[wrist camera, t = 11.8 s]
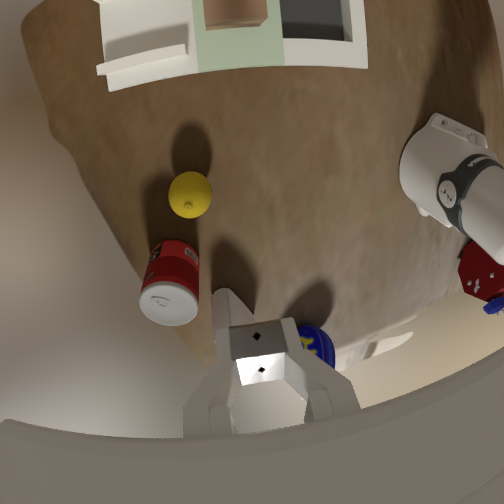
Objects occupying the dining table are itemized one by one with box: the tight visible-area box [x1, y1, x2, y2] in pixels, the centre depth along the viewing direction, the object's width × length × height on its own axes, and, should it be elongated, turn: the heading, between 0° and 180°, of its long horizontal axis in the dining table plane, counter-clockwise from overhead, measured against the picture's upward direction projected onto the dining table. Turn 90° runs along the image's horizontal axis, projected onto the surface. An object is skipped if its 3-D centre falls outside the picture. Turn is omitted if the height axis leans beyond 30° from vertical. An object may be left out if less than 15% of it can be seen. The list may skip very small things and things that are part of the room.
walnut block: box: [203, 0, 268, 31], centre depth 22 cm, size 6×6×6 cm
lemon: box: [168, 171, 212, 218], centre depth 36 cm, size 6×6×8 cm
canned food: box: [139, 239, 199, 326], centre depth 41 cm, size 8×8×11 cm
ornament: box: [297, 325, 335, 369], centre depth 54 cm, size 11×9×15 cm
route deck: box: [94, 0, 368, 92], centre depth 24 cm, size 32×16×6 cm, turn 95°
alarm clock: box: [458, 240, 504, 315], centre depth 46 cm, size 15×9×20 cm, turn 158°
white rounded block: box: [211, 288, 255, 344], centre depth 48 cm, size 10×4×12 cm, turn 30°
